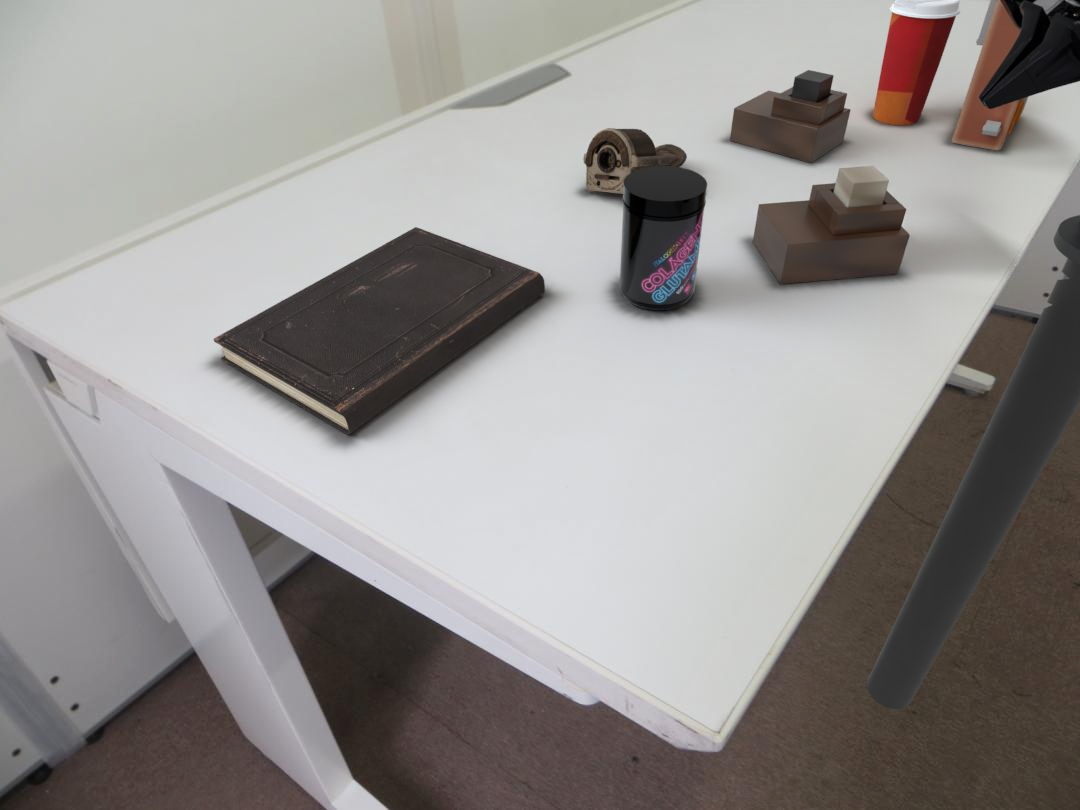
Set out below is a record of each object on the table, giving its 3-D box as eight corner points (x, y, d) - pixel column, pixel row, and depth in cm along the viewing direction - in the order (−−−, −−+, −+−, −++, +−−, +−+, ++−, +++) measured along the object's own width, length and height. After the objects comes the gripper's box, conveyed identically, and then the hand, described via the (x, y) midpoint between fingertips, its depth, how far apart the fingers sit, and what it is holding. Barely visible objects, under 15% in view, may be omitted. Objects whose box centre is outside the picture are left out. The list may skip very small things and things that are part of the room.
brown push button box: (860, 233, 75) (876, 175, 71) (898, 274, 69) (917, 213, 65) (752, 241, 74) (761, 183, 71) (780, 284, 68) (792, 223, 64)
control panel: (1023, 115, 97) (1004, 156, 88) (964, 106, 100) (940, 145, 91) (1098, -82, 83) (1085, -58, 74) (1027, -85, 86) (1006, -63, 77)
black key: (829, 97, 88) (834, 75, 87) (815, 105, 87) (820, 82, 85) (804, 92, 90) (808, 69, 88) (790, 99, 88) (794, 76, 87)
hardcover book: (221, 361, 62) (213, 338, 61) (418, 247, 76) (415, 226, 74) (352, 438, 55) (345, 414, 53) (545, 296, 68) (544, 274, 67)
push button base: (843, 142, 92) (854, 91, 88) (811, 163, 88) (821, 111, 84) (763, 121, 98) (771, 73, 94) (729, 140, 94) (736, 90, 90)
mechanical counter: (561, 129, 84) (599, 140, 76) (662, 99, 87) (710, 106, 78) (573, 193, 88) (611, 210, 79) (669, 162, 90) (716, 175, 82)
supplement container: (622, 315, 65) (627, 202, 59) (615, 274, 71) (619, 167, 64) (700, 312, 65) (715, 199, 59) (687, 272, 71) (699, 164, 64)
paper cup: (915, 106, 101) (949, -12, 91) (937, 127, 95) (974, 4, 86) (855, 107, 101) (883, -10, 92) (873, 129, 95) (904, 6, 86)
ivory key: (866, 192, 70) (873, 165, 68) (881, 207, 67) (889, 180, 65) (832, 194, 69) (838, 167, 68) (846, 210, 67) (853, 182, 65)
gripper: (1057, -156, 60) (885, 6, 67) (1248, -131, 46) (1006, 72, 52) (1106, -48, 66) (944, 91, 72) (1290, 4, 51) (1067, 172, 58)
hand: (983, 103), depth 64 cm, fingers closed
